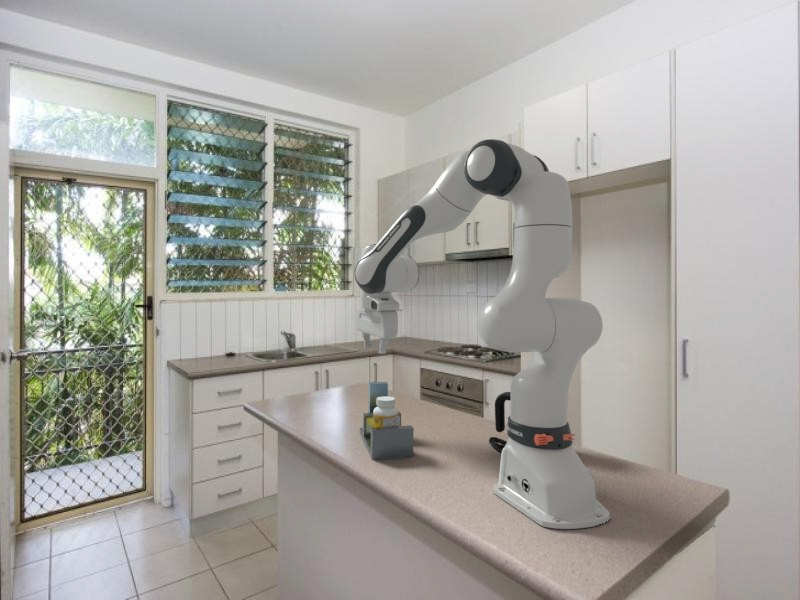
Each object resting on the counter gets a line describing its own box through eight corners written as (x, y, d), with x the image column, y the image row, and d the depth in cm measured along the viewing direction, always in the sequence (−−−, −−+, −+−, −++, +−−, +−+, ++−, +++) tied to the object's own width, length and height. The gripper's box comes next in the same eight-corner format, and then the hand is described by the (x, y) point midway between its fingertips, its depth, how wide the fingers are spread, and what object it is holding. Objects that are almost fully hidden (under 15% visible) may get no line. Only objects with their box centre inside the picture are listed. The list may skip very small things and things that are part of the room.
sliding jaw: (401, 434, 120) (402, 388, 119) (364, 436, 117) (364, 389, 117) (394, 424, 128) (394, 381, 128) (359, 426, 126) (359, 382, 125)
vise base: (413, 456, 108) (413, 428, 108) (372, 459, 106) (372, 430, 105) (394, 431, 127) (394, 406, 127) (359, 433, 125) (359, 408, 125)
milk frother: (547, 443, 119) (548, 388, 118) (548, 465, 104) (550, 402, 103) (493, 437, 123) (494, 384, 123) (486, 458, 108) (487, 396, 108)
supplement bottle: (400, 446, 111) (401, 400, 110) (376, 448, 109) (376, 402, 109) (393, 438, 117) (394, 394, 117) (370, 440, 115) (370, 396, 115)
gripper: (351, 299, 134) (350, 345, 135) (381, 304, 116) (380, 357, 117) (370, 299, 137) (369, 344, 138) (402, 304, 119) (401, 356, 120)
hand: (374, 350), depth 127 cm, fingers open, 8 cm apart
